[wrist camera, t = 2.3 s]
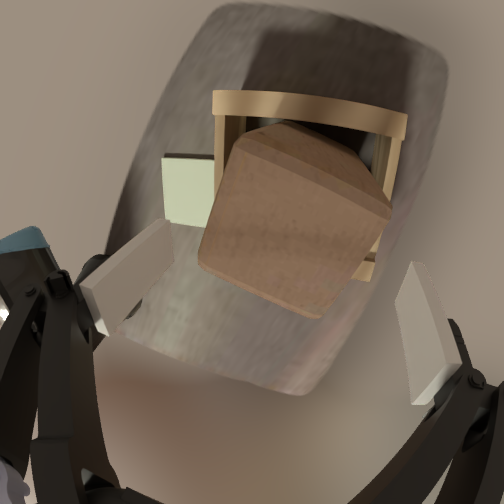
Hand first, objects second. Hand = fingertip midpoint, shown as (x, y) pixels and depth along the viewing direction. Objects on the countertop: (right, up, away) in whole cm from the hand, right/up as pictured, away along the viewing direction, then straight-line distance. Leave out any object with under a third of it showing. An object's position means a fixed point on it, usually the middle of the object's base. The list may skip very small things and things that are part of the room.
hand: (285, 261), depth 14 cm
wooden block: (+5, +11, +19) cm, 22 cm away
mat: (-10, +9, +24) cm, 27 cm away
